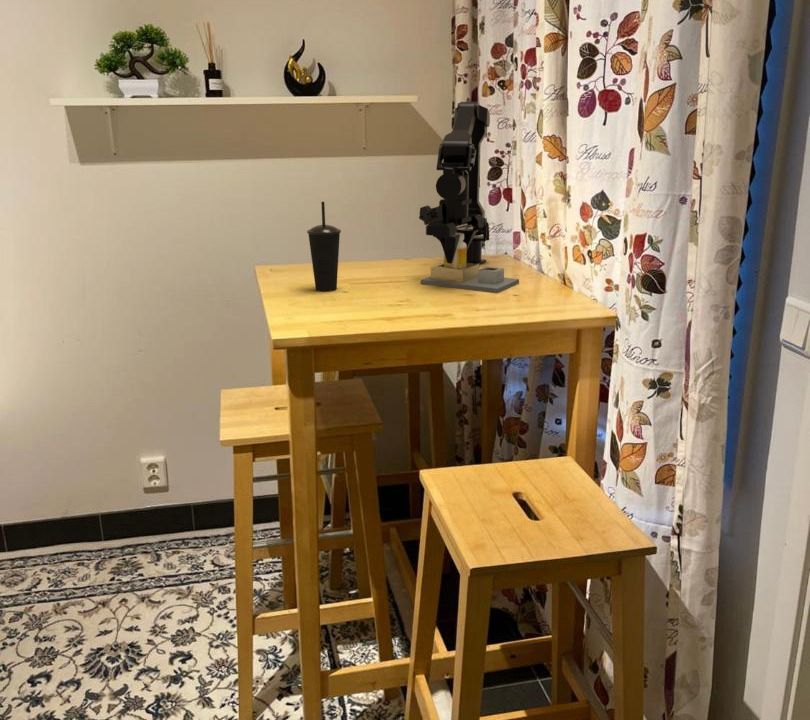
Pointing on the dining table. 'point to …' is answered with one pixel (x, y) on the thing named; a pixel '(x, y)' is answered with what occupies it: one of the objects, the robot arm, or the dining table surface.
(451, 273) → the square wooden frame
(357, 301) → the dining table surface
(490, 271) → the steel collar
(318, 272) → the drinking cup
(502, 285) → the fitting board
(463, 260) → the supplement bottle
